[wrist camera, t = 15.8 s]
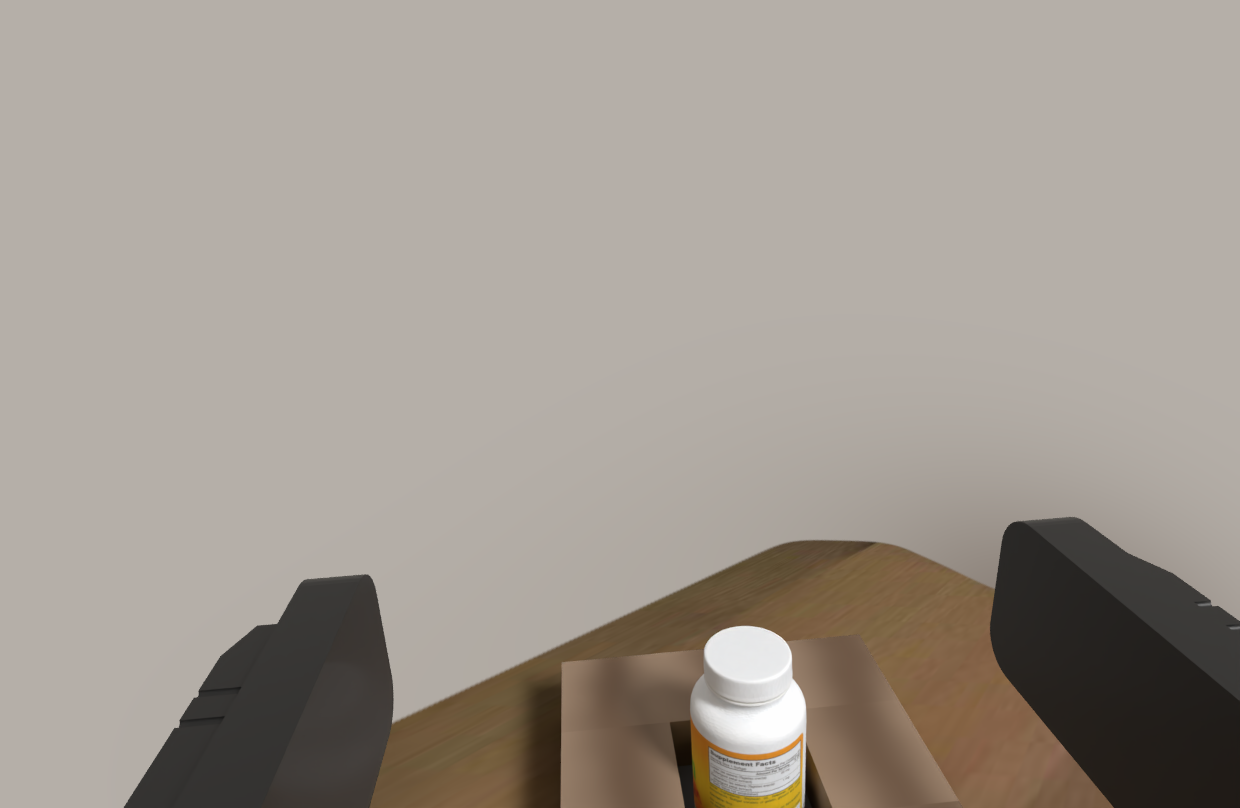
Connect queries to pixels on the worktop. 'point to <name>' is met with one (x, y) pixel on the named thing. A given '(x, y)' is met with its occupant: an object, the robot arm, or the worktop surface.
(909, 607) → the worktop surface
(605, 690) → the socket block
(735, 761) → the supplement bottle
